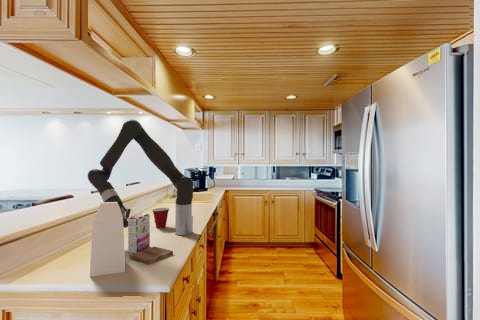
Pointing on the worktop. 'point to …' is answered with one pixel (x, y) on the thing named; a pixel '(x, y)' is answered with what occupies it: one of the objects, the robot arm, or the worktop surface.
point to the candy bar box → (138, 233)
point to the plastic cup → (160, 217)
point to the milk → (107, 241)
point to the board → (150, 255)
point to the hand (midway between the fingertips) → (126, 226)
